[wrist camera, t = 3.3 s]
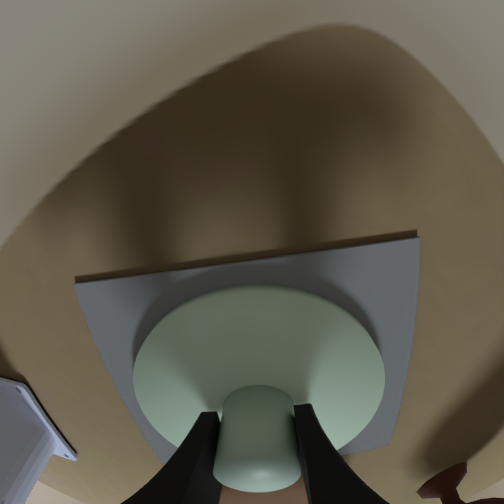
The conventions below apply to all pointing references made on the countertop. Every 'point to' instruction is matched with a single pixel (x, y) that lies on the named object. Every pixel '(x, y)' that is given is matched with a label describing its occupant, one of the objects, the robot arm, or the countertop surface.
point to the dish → (266, 495)
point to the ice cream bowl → (450, 487)
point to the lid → (258, 377)
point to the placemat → (268, 273)
